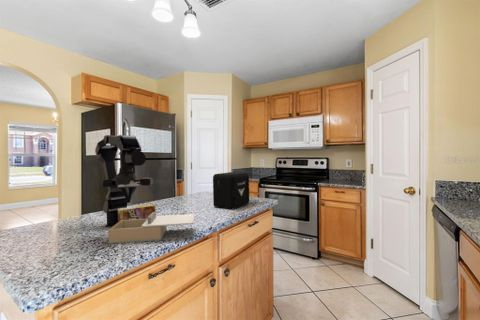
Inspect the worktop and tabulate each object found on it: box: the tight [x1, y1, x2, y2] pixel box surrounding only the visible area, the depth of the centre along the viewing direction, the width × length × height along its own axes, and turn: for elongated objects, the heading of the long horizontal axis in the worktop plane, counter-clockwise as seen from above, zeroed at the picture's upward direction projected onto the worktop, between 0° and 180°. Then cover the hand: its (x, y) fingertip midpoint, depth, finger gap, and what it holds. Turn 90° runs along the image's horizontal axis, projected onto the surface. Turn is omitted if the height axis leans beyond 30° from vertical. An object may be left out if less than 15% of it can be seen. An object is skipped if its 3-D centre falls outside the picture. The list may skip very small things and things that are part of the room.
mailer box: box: [107, 219, 168, 245], centre depth 91 cm, size 18×13×5 cm
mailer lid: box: [141, 211, 196, 227], centre depth 93 cm, size 19×14×3 cm
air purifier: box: [212, 171, 250, 210], centre depth 144 cm, size 20×15×20 cm
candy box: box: [118, 203, 156, 222], centre depth 104 cm, size 9×4×15 cm
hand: (129, 202), depth 97 cm, fingers closed
